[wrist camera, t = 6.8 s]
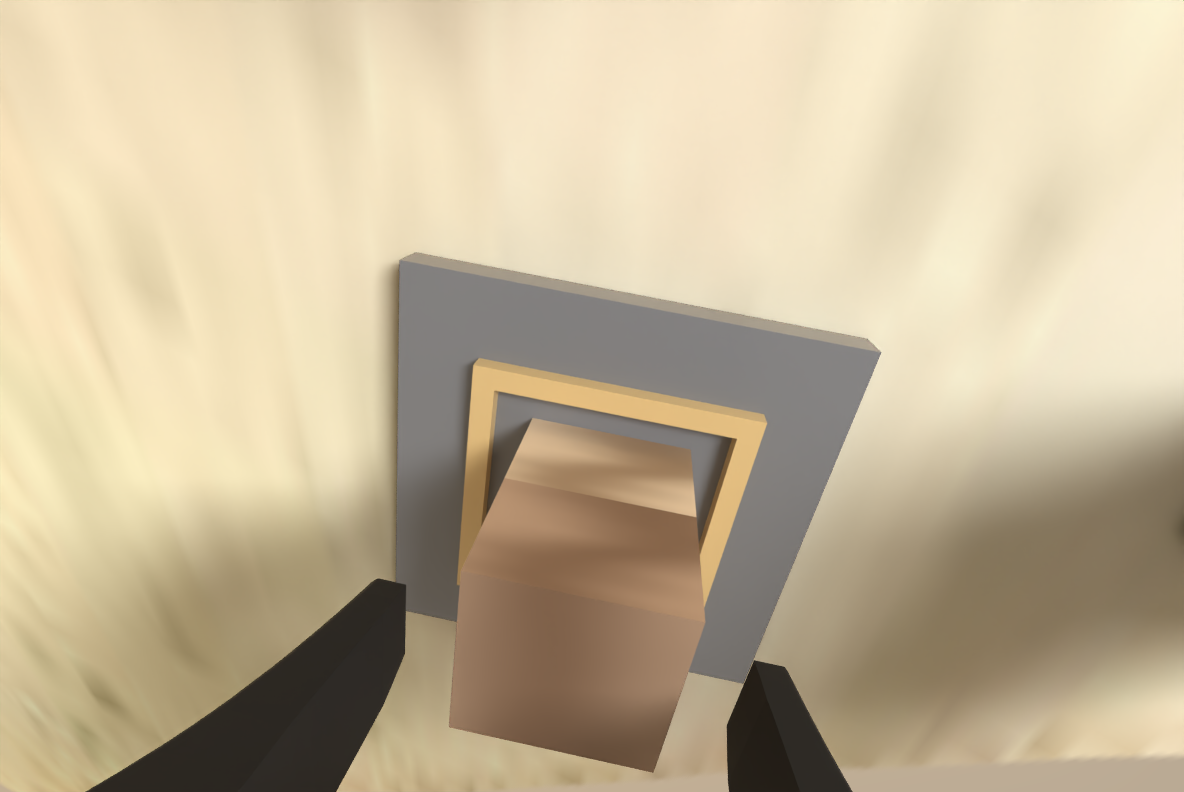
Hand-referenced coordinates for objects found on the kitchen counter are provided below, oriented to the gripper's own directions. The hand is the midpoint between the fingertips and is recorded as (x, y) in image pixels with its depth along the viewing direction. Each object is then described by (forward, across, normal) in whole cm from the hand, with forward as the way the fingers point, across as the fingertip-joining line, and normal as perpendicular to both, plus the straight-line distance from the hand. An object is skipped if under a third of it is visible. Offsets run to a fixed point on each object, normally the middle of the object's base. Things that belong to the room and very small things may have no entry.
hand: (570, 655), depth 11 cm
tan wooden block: (+5, 0, 0) cm, 5 cm away
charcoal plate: (+6, 0, 0) cm, 6 cm away
